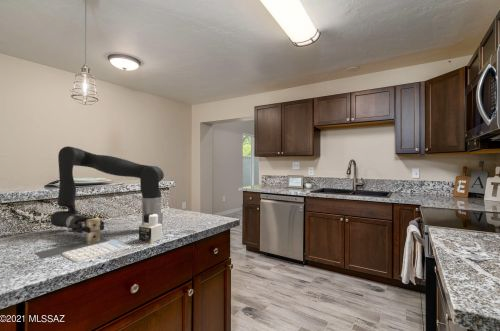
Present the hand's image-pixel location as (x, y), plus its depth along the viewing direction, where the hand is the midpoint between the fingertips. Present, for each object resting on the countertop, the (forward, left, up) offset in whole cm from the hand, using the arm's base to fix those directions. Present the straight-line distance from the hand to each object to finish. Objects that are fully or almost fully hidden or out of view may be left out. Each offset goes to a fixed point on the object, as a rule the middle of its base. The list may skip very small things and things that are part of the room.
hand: (96, 229), depth 105 cm
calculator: (+4, +9, -7) cm, 12 cm away
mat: (+7, -2, -7) cm, 10 cm away
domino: (0, -3, -6) cm, 7 cm away
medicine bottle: (-17, +13, -7) cm, 23 cm away
